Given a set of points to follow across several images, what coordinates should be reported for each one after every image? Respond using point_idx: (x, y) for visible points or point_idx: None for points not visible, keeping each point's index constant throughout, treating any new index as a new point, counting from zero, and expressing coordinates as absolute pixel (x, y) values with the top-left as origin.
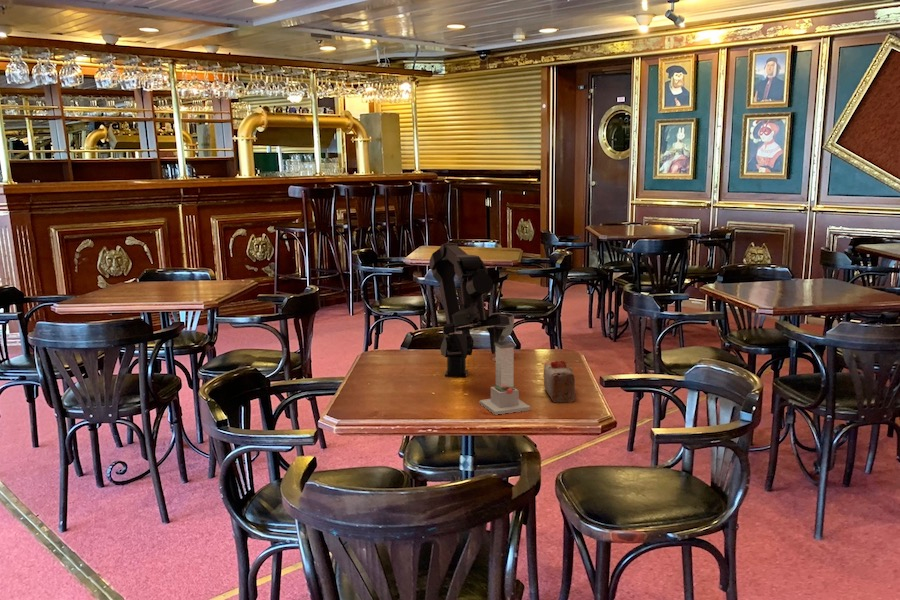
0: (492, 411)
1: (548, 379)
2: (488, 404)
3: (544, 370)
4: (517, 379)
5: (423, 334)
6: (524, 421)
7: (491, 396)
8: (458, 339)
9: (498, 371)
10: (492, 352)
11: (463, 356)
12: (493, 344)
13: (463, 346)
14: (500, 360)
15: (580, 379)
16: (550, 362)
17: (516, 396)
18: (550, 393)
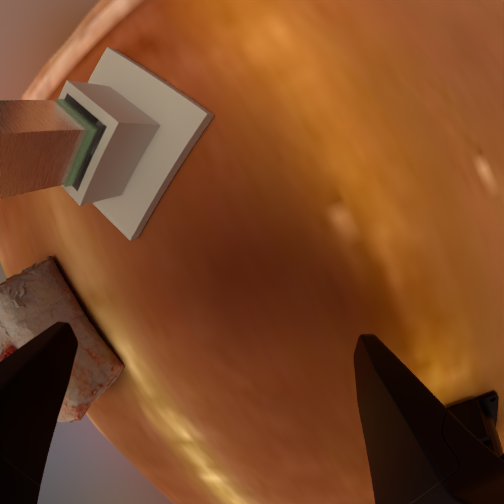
0: (124, 56)
1: (34, 312)
2: (152, 90)
3: (73, 384)
4: (242, 437)
5: None
6: (48, 73)
7: (139, 119)
8: (458, 488)
9: (11, 114)
10: (56, 324)
11: (374, 341)
12: (4, 358)
13: (390, 440)
14: None
15: (120, 441)
16: (64, 416)
17: None
18: (43, 269)
